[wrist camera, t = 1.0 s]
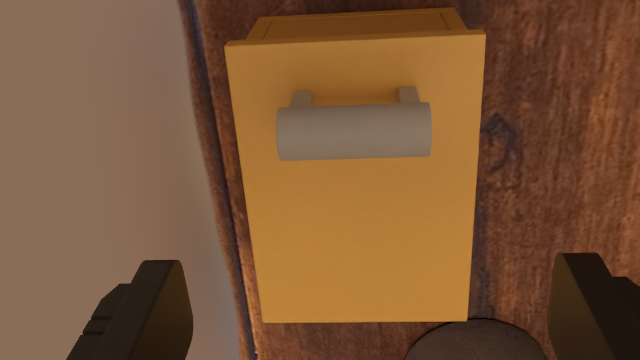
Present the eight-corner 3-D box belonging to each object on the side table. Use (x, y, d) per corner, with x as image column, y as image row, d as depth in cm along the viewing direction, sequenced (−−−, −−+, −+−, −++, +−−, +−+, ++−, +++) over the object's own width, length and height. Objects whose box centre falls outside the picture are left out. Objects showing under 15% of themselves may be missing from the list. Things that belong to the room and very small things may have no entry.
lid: (227, 40, 23) (196, 84, 19) (482, 28, 22) (512, 70, 18) (264, 312, 29) (247, 392, 25) (464, 310, 29) (483, 392, 24)
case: (258, 16, 30) (230, 60, 24) (454, 6, 29) (481, 49, 23) (282, 230, 36) (264, 311, 29) (445, 226, 35) (464, 309, 29)
